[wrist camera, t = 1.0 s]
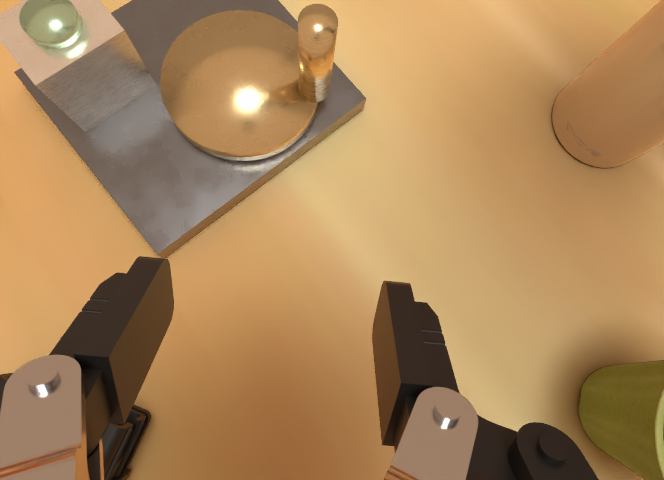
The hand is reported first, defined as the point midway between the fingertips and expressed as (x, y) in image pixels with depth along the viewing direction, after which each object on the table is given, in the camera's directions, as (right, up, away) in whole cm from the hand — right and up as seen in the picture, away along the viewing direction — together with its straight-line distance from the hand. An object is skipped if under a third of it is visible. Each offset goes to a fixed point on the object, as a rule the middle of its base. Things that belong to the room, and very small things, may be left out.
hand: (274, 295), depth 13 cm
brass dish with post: (-6, +14, +25) cm, 30 cm away
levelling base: (-10, +14, +27) cm, 32 cm away
